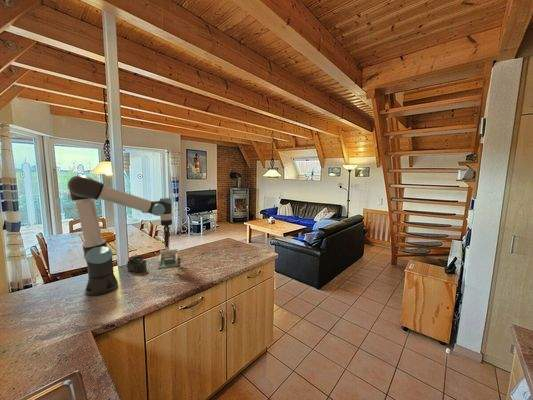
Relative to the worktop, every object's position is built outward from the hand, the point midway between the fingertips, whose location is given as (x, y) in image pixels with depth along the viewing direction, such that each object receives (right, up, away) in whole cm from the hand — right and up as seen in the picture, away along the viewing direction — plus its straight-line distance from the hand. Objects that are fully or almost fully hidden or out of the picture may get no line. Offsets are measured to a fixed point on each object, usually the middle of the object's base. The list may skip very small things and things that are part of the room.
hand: (167, 248), depth 169 cm
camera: (-17, -13, -9) cm, 23 cm away
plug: (+1, -11, +2) cm, 11 cm away
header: (-1, -11, +4) cm, 12 cm away
